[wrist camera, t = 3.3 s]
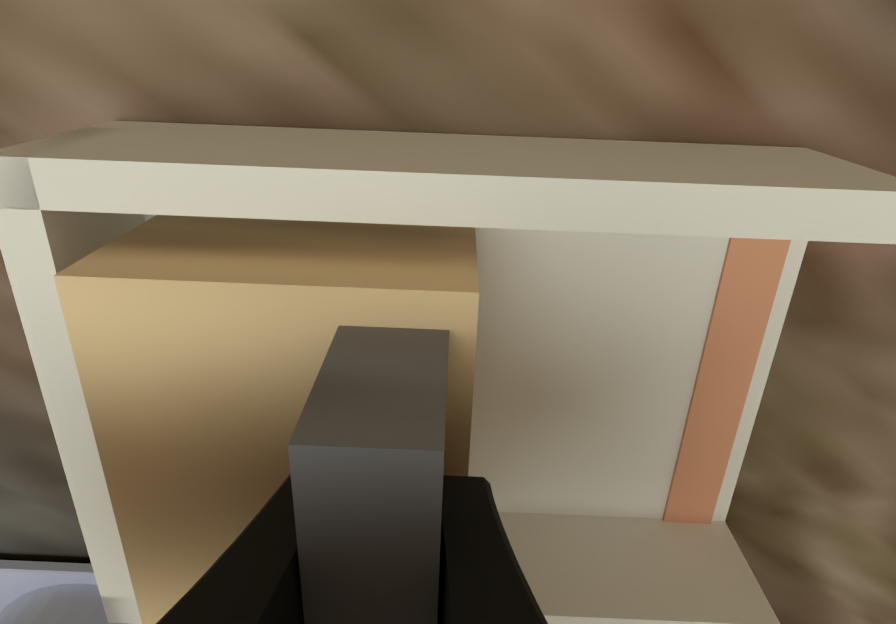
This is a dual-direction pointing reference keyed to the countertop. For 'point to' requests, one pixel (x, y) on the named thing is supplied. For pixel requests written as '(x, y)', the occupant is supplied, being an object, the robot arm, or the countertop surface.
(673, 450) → the bay
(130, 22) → the countertop surface
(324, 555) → the tan block with handle
